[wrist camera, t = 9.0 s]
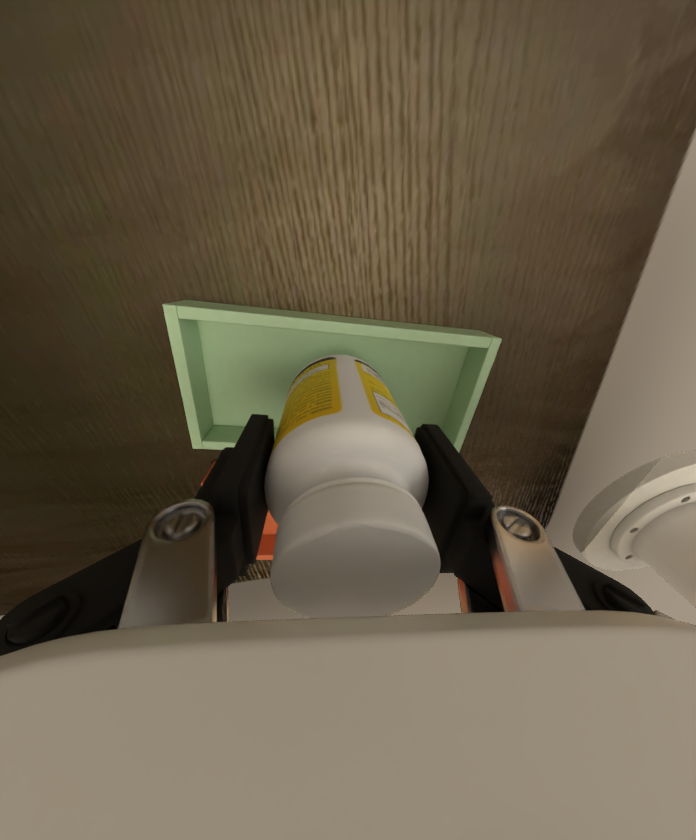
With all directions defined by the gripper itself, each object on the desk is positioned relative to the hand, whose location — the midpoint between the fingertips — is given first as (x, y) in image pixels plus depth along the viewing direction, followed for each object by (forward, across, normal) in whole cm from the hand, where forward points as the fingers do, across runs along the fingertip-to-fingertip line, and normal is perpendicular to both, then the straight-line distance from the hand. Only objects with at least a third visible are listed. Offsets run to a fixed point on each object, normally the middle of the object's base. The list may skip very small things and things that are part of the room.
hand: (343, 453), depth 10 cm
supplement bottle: (+5, 0, 0) cm, 5 cm away
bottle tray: (+8, 0, 0) cm, 8 cm away
